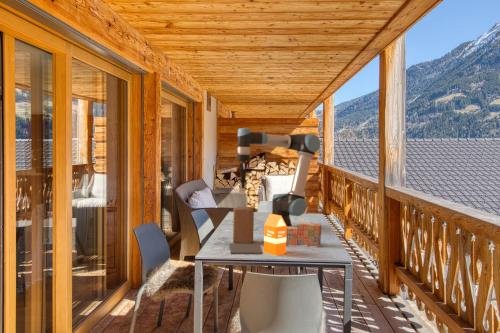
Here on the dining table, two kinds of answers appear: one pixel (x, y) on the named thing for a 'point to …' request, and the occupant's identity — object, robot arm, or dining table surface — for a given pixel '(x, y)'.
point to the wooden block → (243, 225)
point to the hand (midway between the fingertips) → (242, 193)
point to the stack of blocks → (304, 234)
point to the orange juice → (275, 235)
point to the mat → (245, 248)
